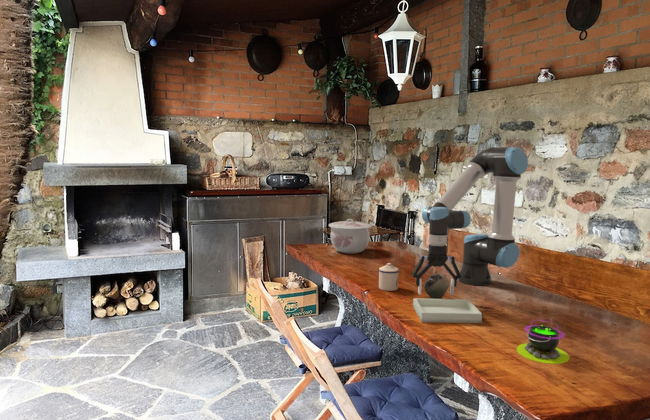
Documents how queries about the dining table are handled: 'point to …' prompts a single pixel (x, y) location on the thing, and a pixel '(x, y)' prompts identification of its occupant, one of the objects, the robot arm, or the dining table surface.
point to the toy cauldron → (543, 345)
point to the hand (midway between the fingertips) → (435, 294)
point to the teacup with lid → (388, 277)
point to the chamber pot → (350, 236)
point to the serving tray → (447, 310)
